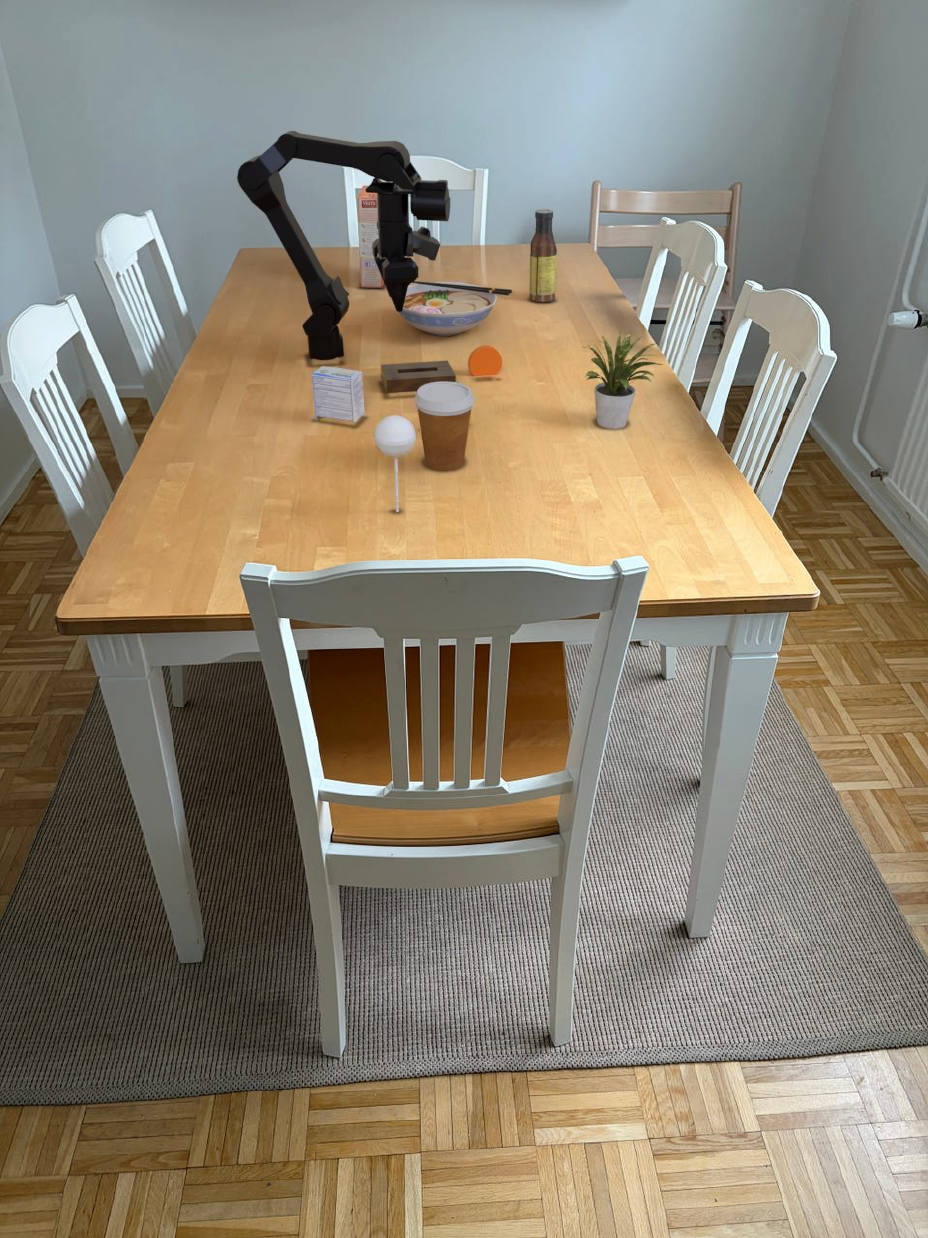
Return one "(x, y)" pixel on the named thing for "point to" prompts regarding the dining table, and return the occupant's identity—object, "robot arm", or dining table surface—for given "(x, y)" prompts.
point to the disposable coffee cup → (444, 422)
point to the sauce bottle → (543, 259)
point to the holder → (415, 375)
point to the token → (485, 361)
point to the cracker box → (368, 239)
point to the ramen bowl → (448, 306)
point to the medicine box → (338, 393)
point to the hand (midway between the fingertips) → (395, 304)
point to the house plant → (617, 382)
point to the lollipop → (395, 441)
